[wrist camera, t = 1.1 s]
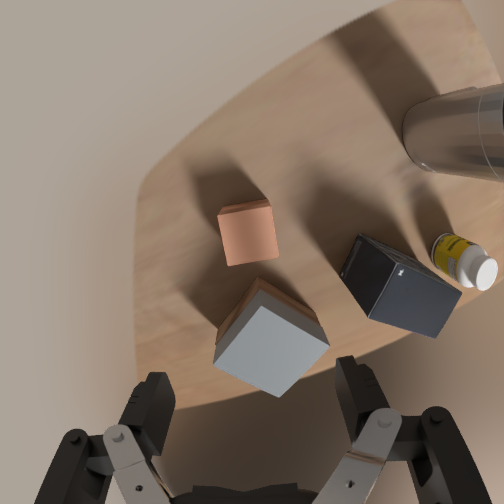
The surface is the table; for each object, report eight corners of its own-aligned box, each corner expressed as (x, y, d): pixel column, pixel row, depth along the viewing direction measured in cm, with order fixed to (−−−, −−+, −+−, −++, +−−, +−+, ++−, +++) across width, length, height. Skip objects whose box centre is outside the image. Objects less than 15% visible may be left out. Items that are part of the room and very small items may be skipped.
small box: (335, 279, 35) (364, 321, 25) (358, 231, 34) (397, 258, 23) (398, 302, 36) (435, 342, 26) (419, 260, 35) (465, 291, 25)
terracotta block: (267, 198, 32) (270, 206, 27) (274, 241, 34) (279, 257, 28) (223, 206, 33) (217, 215, 27) (231, 248, 34) (227, 266, 28)
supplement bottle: (457, 228, 33) (502, 247, 24) (457, 263, 35) (499, 289, 25) (428, 236, 34) (473, 259, 24) (430, 273, 35) (470, 302, 26)
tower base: (257, 275, 35) (258, 288, 32) (314, 311, 37) (321, 327, 33) (218, 327, 37) (215, 344, 34) (273, 358, 39) (275, 376, 35)
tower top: (259, 288, 32) (261, 305, 28) (322, 327, 33) (330, 346, 29) (216, 344, 34) (212, 365, 30) (276, 376, 35) (279, 397, 31)
